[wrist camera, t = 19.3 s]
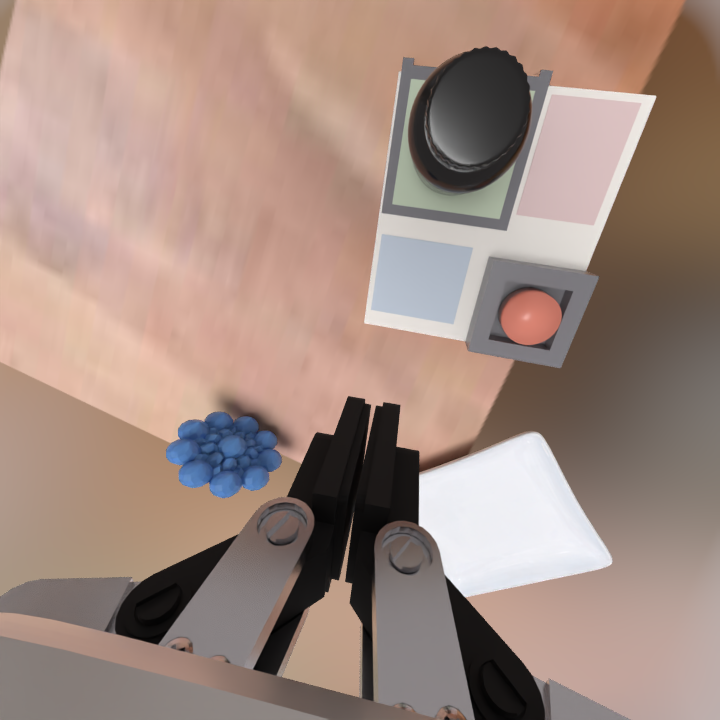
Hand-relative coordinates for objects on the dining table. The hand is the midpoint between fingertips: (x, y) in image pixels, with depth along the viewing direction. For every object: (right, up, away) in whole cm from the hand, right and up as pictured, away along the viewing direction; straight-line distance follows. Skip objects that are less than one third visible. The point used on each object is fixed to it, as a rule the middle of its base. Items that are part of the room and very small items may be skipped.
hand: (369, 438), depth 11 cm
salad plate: (+15, -16, +32) cm, 39 cm away
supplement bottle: (+7, +19, +16) cm, 26 cm away
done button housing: (+14, +7, +20) cm, 25 cm away
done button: (+14, +7, +18) cm, 24 cm away
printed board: (+10, +14, +19) cm, 26 cm away
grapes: (-14, -6, +33) cm, 37 cm away
